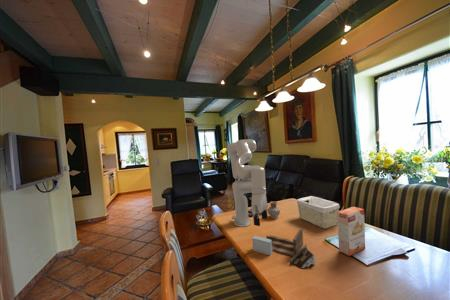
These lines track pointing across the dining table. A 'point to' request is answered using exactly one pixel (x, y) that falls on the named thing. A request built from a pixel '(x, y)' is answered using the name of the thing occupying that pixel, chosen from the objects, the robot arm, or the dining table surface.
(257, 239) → the door slab
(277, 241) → the track base
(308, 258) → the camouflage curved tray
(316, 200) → the storage basket
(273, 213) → the pottery
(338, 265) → the dining table surface
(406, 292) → the dining table surface
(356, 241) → the cracker box
